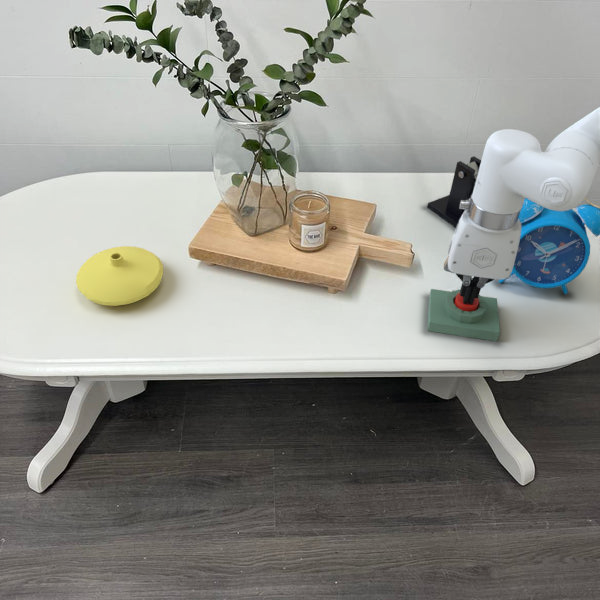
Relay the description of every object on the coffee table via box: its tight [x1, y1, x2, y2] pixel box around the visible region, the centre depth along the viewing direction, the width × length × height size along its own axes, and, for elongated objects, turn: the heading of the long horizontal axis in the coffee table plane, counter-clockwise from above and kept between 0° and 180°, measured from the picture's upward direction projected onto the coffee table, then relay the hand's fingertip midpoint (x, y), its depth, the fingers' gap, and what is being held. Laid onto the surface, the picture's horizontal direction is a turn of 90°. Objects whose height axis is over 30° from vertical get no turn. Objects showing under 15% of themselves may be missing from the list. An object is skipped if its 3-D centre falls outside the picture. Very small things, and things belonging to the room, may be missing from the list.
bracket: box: [426, 155, 482, 229], centre depth 124 cm, size 12×9×13 cm
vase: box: [75, 245, 164, 307], centre depth 106 cm, size 16×16×7 cm
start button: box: [454, 293, 479, 312], centre depth 101 cm, size 4×4×2 cm
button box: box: [427, 288, 501, 342], centre depth 102 cm, size 12×9×4 cm
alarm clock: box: [498, 196, 600, 295], centre depth 105 cm, size 17×10×20 cm, turn 76°
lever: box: [466, 161, 479, 183], centre depth 120 cm, size 13×3×3 cm, turn 33°
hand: (467, 298), depth 100 cm, fingers closed
